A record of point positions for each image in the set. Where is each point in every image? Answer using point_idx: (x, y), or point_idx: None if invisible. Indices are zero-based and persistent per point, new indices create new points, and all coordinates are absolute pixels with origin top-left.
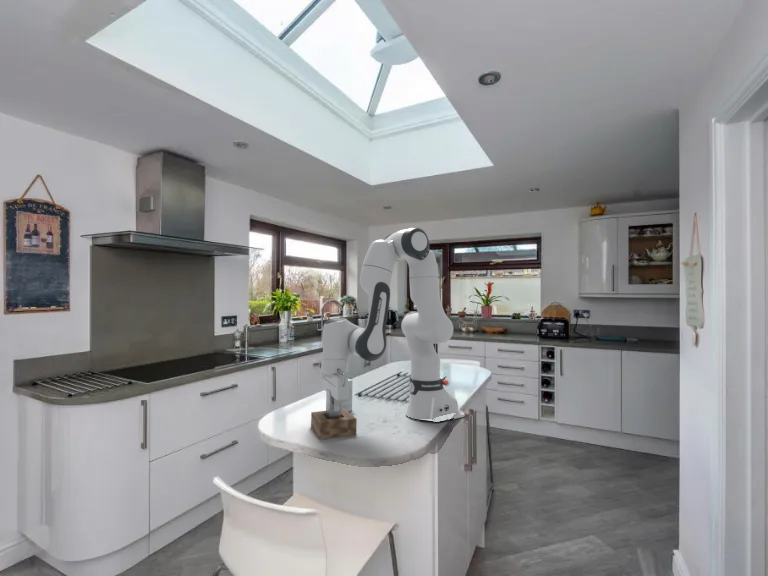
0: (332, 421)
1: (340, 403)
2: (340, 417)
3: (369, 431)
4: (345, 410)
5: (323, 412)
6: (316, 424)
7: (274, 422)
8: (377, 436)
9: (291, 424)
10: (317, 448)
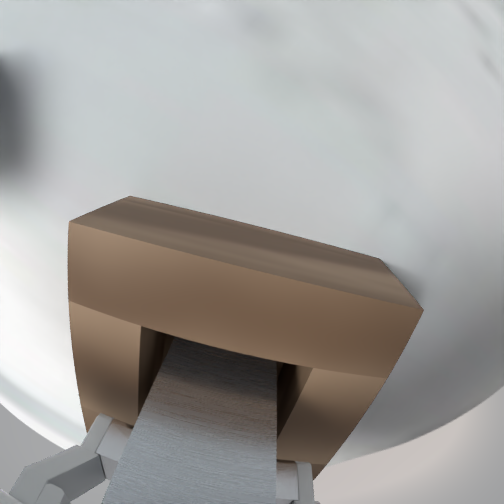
0: (330, 454)
1: (271, 490)
2: (274, 381)
3: (393, 149)
4: (123, 252)
5: (112, 409)
6: None
7: (38, 421)
8: (479, 174)
9: (65, 406)
10: (370, 452)
